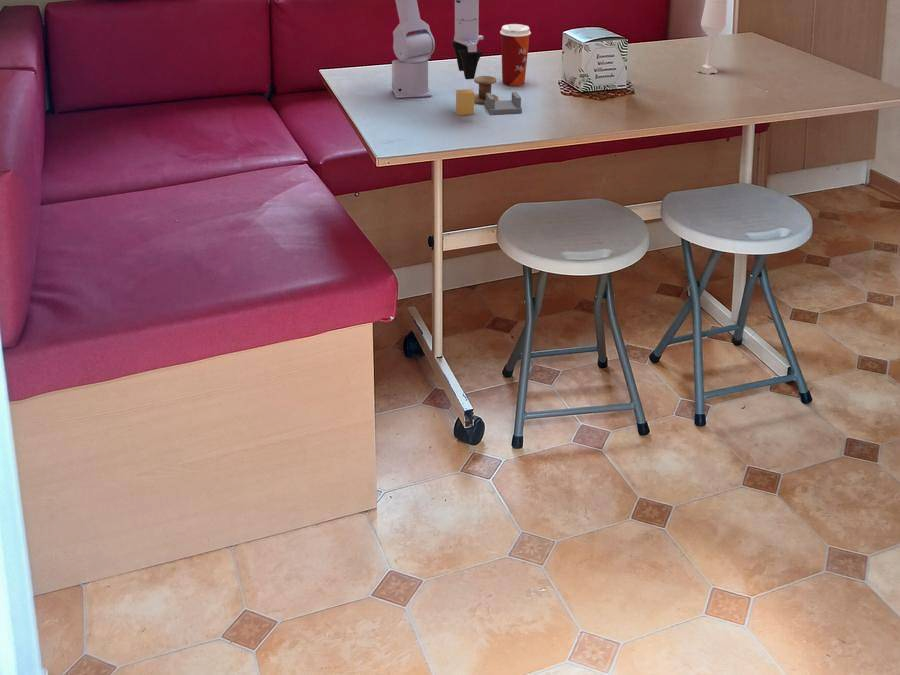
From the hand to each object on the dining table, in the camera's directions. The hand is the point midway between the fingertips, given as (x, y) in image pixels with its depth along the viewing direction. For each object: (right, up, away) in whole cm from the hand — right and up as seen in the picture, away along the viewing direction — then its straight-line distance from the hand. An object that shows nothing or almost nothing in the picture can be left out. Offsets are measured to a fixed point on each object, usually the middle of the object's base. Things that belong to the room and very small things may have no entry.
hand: (466, 74), depth 255 cm
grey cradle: (+9, -7, +7) cm, 14 cm away
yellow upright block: (0, -8, +5) cm, 10 cm away
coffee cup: (+13, +4, +27) cm, 31 cm away
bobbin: (+5, -3, +13) cm, 15 cm away
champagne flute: (+69, +11, +39) cm, 80 cm away
